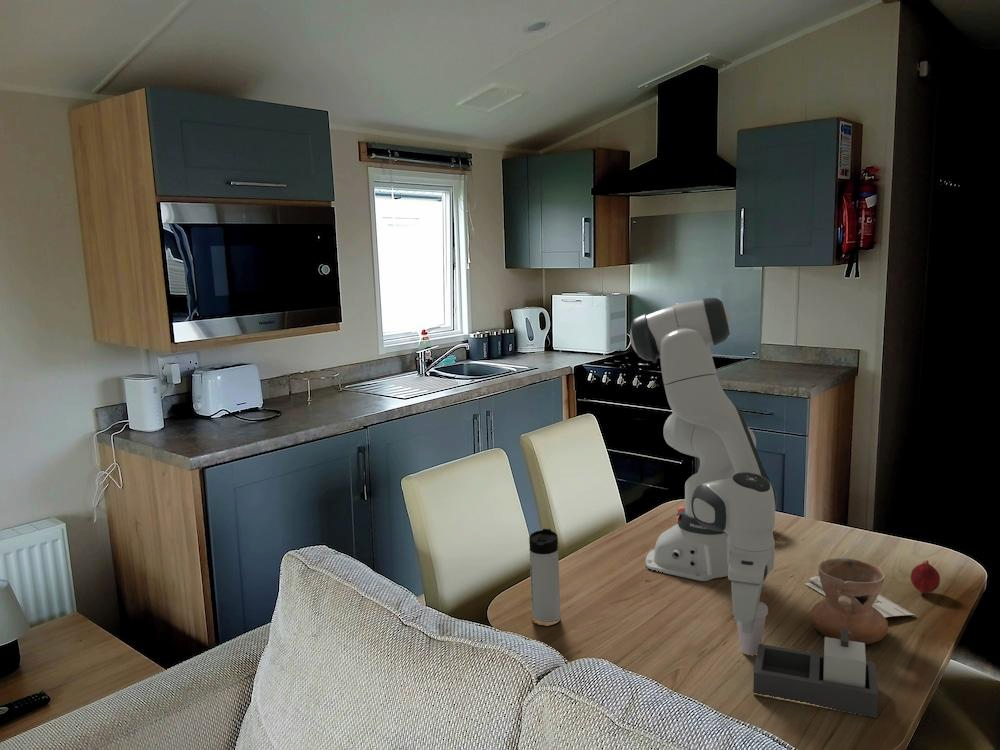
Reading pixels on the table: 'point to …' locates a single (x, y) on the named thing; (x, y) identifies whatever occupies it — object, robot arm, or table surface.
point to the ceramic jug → (850, 601)
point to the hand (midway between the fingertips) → (749, 622)
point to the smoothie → (753, 632)
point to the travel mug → (544, 575)
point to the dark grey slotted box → (820, 676)
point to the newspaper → (880, 604)
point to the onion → (925, 577)
